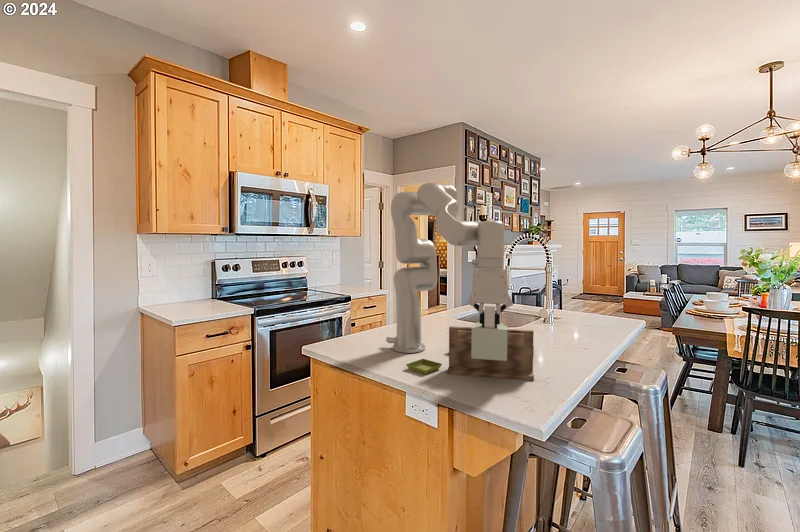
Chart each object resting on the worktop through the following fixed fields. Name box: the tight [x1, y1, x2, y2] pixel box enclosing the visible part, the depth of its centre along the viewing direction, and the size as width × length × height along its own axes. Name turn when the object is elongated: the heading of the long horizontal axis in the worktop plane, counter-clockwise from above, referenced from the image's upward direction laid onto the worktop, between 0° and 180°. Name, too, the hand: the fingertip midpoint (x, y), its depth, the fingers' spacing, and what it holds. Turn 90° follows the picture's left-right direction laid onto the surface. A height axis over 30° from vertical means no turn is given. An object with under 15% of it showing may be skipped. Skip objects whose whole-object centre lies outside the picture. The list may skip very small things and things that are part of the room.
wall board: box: [446, 325, 535, 381], centre depth 125 cm, size 26×6×14 cm, turn 76°
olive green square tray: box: [405, 358, 443, 375], centre depth 130 cm, size 9×9×2 cm
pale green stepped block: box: [471, 305, 508, 361], centre depth 118 cm, size 10×9×15 cm
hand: (489, 325), depth 116 cm, fingers closed on pale green stepped block, 3 cm apart
